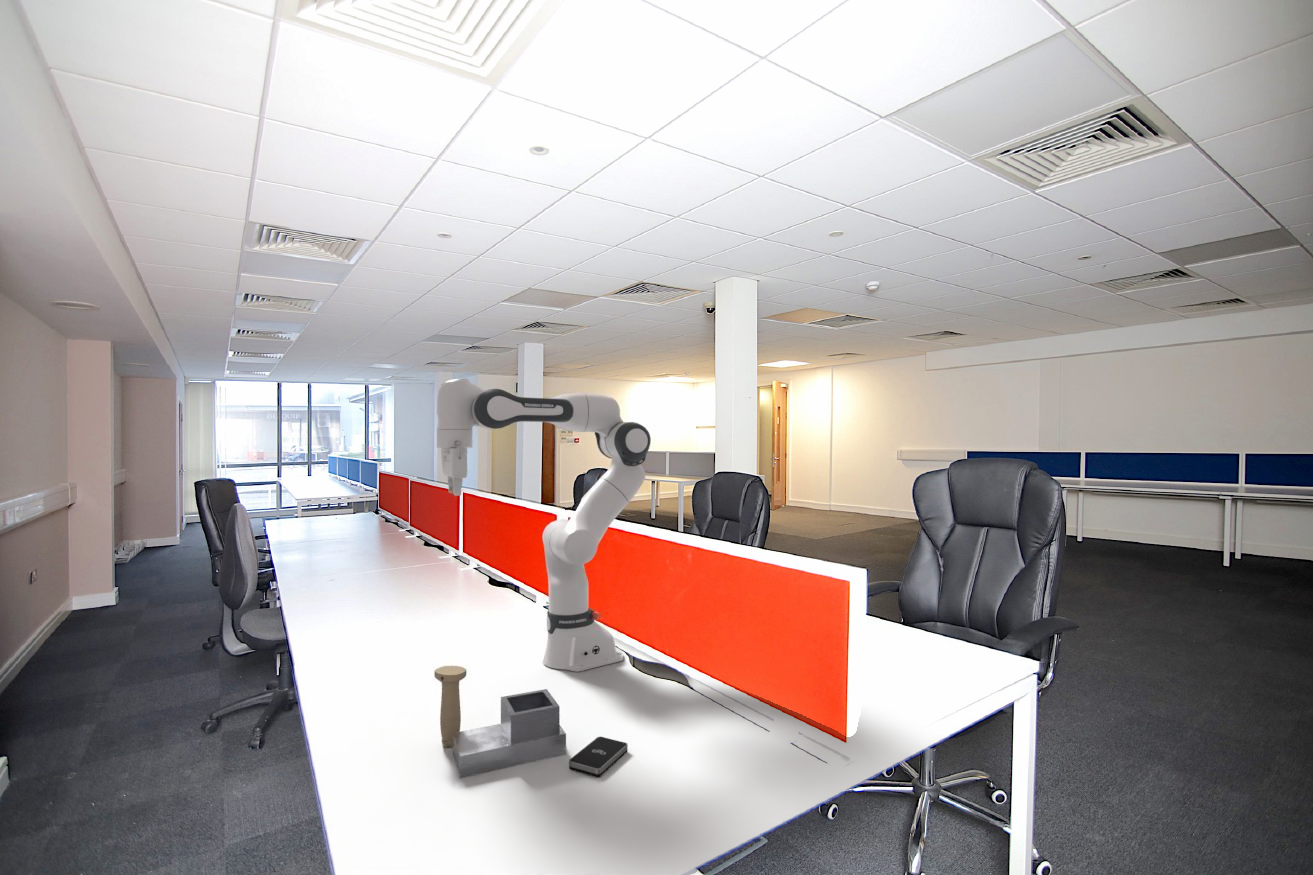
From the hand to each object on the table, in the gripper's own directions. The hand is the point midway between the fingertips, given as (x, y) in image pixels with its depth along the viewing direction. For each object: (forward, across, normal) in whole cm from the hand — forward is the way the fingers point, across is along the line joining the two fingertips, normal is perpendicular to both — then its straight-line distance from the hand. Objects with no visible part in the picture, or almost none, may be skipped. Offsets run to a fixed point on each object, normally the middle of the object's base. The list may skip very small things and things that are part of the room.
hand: (454, 494), depth 160 cm
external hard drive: (+48, -55, -20) cm, 76 cm away
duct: (+48, -45, -5) cm, 66 cm away
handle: (+48, -36, +5) cm, 60 cm away
